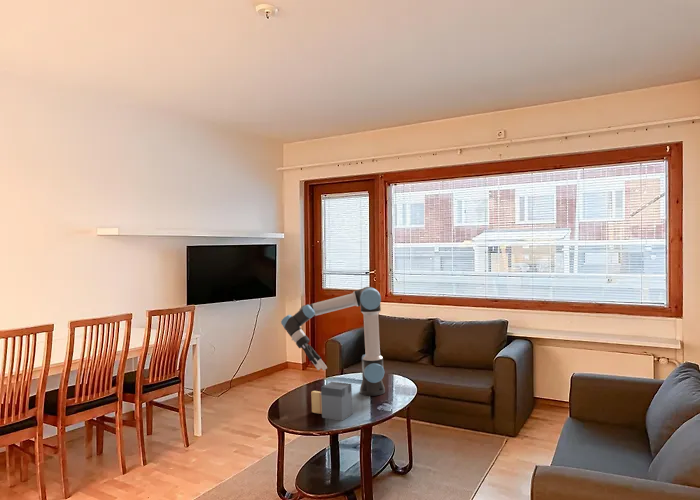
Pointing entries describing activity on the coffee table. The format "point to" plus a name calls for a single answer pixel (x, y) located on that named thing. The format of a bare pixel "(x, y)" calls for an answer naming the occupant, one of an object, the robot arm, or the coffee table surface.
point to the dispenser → (336, 400)
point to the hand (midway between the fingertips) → (322, 369)
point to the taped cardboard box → (316, 402)
